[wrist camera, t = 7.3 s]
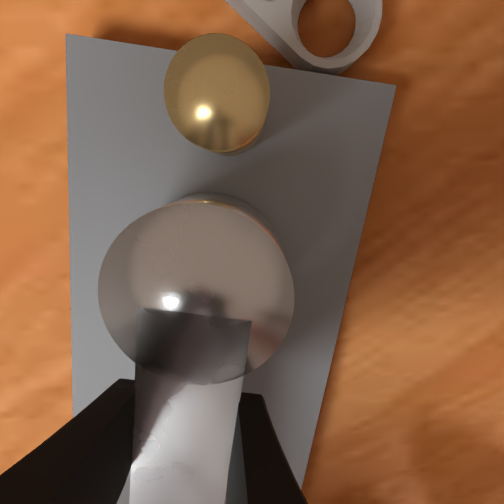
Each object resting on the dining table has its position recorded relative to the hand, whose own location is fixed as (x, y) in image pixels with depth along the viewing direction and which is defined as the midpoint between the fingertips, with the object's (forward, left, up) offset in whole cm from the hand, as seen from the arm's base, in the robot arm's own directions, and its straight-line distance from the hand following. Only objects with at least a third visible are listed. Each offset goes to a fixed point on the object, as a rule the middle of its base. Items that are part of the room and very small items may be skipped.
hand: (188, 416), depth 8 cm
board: (0, 0, -3) cm, 3 cm away
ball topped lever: (0, 0, -2) cm, 2 cm away
